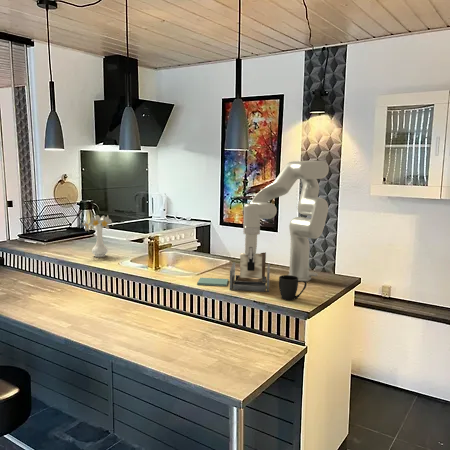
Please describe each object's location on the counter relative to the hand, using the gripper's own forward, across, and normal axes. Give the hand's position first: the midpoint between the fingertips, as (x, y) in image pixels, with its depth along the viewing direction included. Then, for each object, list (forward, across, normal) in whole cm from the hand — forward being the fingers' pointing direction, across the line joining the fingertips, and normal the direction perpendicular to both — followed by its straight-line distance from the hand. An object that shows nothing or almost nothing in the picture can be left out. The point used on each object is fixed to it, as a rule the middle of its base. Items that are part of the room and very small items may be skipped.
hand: (251, 269), depth 206 cm
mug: (+10, +14, +18) cm, 25 cm away
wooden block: (+10, -19, +1) cm, 22 cm away
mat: (+9, -6, -19) cm, 22 cm away
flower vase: (+9, -52, -94) cm, 108 cm away
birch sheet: (+4, 0, 0) cm, 4 cm away
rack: (+9, -5, -1) cm, 10 cm away
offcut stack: (+10, -8, -1) cm, 13 cm away
